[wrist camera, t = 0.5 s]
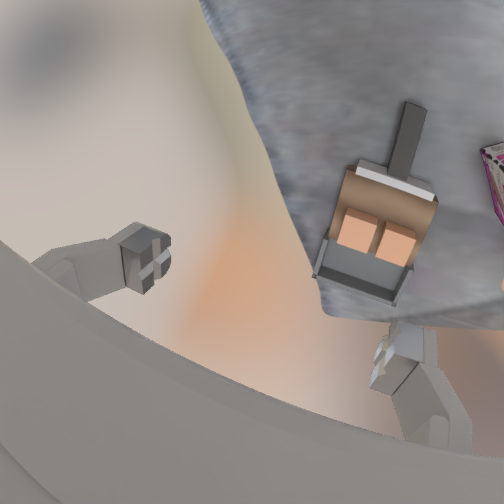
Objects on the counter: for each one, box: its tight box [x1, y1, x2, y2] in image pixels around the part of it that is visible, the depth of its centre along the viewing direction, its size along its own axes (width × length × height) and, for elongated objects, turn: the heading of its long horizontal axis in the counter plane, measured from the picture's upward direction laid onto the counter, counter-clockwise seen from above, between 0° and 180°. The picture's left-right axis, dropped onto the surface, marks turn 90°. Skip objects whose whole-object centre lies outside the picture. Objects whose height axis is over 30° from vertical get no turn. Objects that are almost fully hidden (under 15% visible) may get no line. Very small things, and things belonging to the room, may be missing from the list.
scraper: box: [355, 102, 435, 202], centre depth 40 cm, size 12×12×5 cm
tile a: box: [337, 208, 378, 254], centre depth 47 cm, size 5×5×3 cm
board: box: [328, 165, 439, 267], centre depth 48 cm, size 12×15×3 cm
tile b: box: [375, 221, 416, 267], centre depth 46 cm, size 5×5×3 cm
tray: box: [312, 229, 414, 307], centre depth 53 cm, size 8×16×4 cm, turn 81°
